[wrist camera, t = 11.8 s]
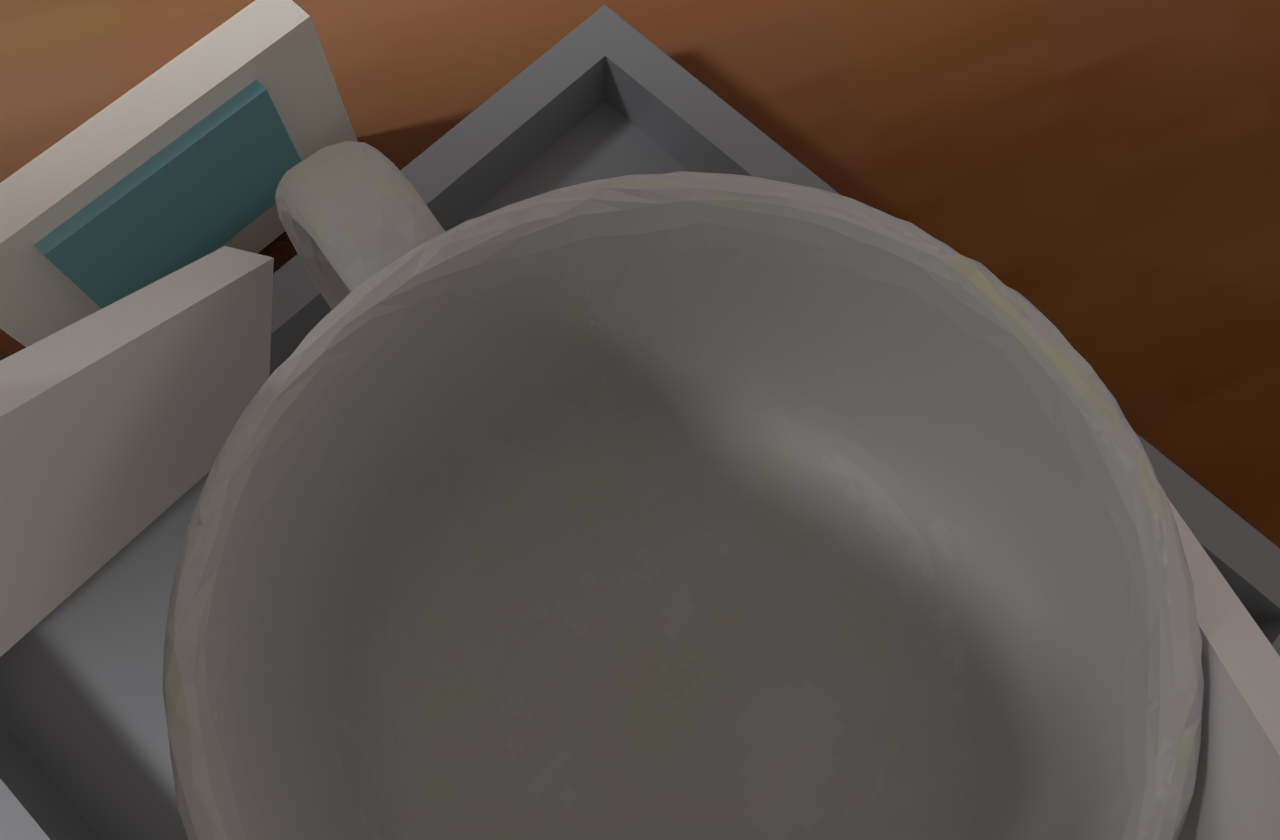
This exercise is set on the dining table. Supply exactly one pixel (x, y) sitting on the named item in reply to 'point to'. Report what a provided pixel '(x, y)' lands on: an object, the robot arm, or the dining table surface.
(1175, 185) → the dining table surface
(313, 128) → the tag
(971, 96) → the dining table surface
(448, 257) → the teacup
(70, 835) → the tray
